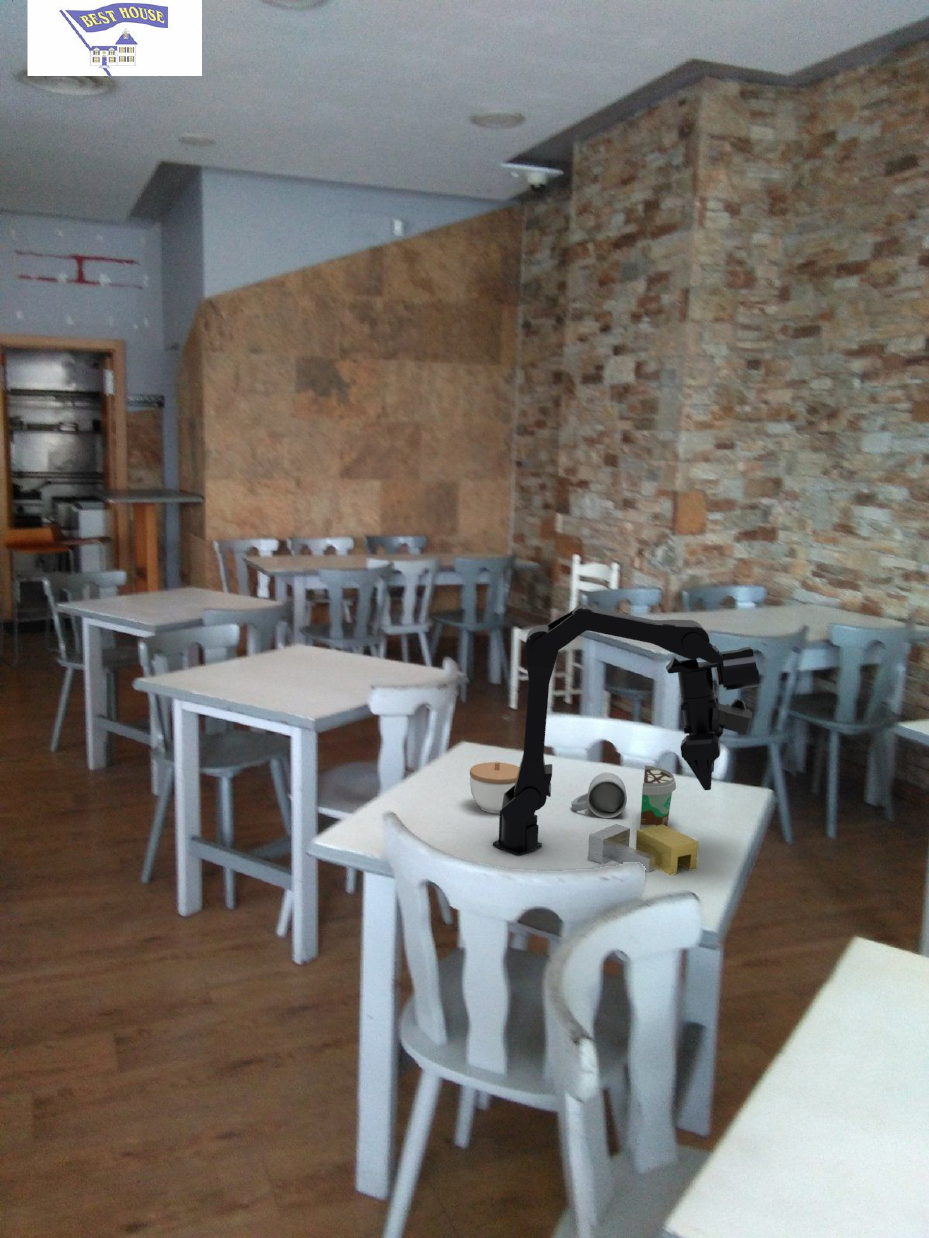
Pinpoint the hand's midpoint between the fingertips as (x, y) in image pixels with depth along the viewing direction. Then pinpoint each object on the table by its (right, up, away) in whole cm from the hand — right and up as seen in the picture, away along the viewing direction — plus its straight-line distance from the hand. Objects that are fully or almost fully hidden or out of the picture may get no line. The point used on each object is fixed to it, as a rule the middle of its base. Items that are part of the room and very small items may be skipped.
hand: (709, 780), depth 182 cm
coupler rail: (-14, -14, 0) cm, 20 cm away
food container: (-6, -12, +18) cm, 22 cm away
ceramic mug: (-16, -10, +25) cm, 31 cm away
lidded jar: (-36, -9, +25) cm, 45 cm away
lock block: (-8, -14, 0) cm, 16 cm away
